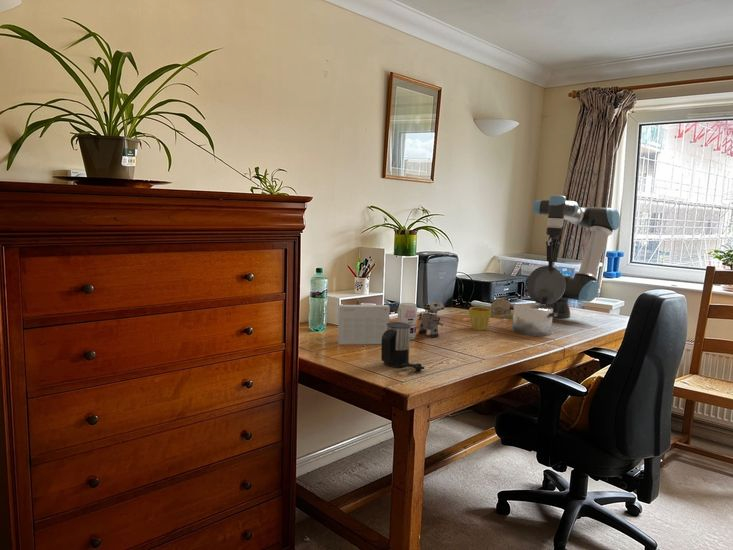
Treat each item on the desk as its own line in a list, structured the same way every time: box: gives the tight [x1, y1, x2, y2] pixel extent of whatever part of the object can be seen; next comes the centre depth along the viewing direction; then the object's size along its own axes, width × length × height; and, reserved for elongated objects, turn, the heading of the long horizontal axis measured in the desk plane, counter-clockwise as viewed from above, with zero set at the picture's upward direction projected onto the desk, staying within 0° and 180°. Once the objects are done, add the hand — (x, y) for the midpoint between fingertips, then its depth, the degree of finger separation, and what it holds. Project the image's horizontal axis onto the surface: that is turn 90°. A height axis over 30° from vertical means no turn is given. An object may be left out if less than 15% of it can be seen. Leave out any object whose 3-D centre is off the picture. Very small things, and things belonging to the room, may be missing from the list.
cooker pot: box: [510, 303, 557, 337], centre depth 267 cm, size 20×22×12 cm
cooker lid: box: [526, 265, 566, 305], centre depth 275 cm, size 19×19×4 cm
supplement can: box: [397, 302, 418, 341], centre depth 242 cm, size 8×8×15 cm
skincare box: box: [337, 304, 391, 345], centre depth 230 cm, size 21×6×16 cm, turn 100°
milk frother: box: [380, 321, 425, 372], centre depth 199 cm, size 14×16×15 cm
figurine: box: [417, 300, 445, 338], centre depth 250 cm, size 9×12×15 cm
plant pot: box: [468, 306, 492, 331], centre depth 268 cm, size 10×10×10 cm
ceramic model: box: [489, 297, 513, 319], centre depth 302 cm, size 14×11×10 cm
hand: (550, 274), depth 277 cm, fingers closed
